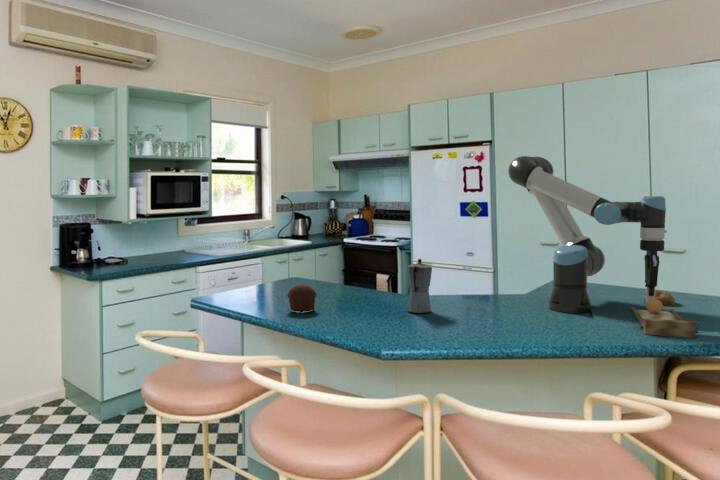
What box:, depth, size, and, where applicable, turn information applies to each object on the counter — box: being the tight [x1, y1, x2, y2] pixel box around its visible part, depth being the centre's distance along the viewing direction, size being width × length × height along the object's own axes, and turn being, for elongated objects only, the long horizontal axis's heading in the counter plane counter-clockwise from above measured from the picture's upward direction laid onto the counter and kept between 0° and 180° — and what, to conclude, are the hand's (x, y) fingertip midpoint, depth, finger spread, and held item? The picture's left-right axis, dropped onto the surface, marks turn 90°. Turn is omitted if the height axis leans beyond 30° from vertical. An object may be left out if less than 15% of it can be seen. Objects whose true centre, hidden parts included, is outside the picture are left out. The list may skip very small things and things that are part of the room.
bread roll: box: [643, 289, 676, 307], centre depth 188 cm, size 10×10×8 cm
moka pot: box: [406, 258, 433, 314], centre depth 187 cm, size 10×15×20 cm, turn 164°
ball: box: [645, 299, 664, 313], centre depth 173 cm, size 5×5×5 cm
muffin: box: [286, 284, 318, 312], centre depth 193 cm, size 12×11×10 cm
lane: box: [630, 306, 697, 339], centre depth 163 cm, size 13×29×4 cm, turn 159°
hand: (650, 304), depth 180 cm, fingers closed
